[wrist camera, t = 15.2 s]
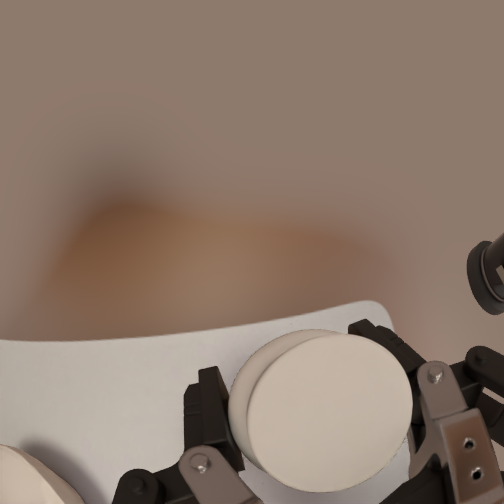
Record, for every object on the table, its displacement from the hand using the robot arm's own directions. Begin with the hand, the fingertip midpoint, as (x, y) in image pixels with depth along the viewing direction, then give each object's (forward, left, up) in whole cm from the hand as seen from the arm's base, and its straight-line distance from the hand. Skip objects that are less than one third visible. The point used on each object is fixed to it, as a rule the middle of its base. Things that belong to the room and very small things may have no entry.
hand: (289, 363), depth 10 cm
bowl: (+24, +18, -14) cm, 33 cm away
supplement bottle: (0, +2, -5) cm, 5 cm away
